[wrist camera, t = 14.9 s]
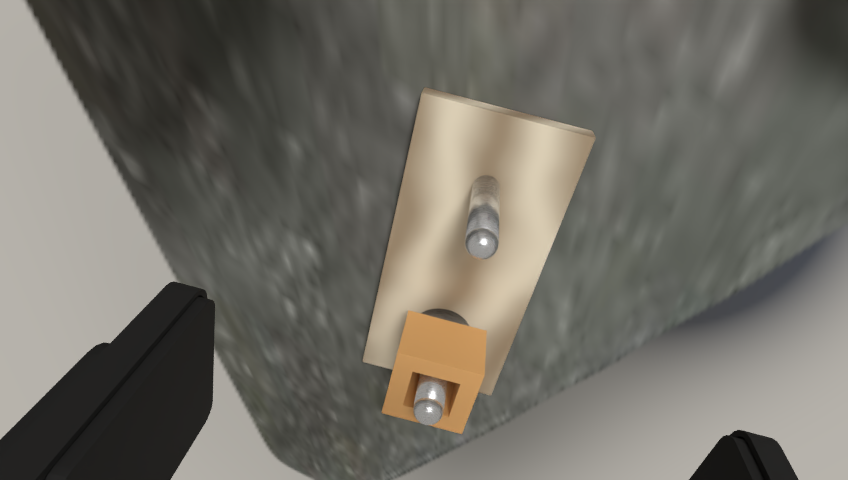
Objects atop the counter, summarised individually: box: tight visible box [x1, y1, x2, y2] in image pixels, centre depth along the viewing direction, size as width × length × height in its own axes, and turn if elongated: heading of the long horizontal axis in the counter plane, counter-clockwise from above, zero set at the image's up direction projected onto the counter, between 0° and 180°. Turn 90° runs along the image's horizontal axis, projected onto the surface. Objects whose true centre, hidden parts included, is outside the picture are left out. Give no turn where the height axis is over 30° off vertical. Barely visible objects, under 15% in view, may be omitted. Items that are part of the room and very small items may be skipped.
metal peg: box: [413, 308, 469, 425], centre depth 42 cm, size 5×5×10 cm
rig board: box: [363, 87, 595, 395], centre depth 43 cm, size 12×25×2 cm, turn 167°
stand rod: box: [465, 175, 500, 260], centre depth 35 cm, size 2×2×9 cm
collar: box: [382, 310, 487, 434], centre depth 42 cm, size 6×6×5 cm
